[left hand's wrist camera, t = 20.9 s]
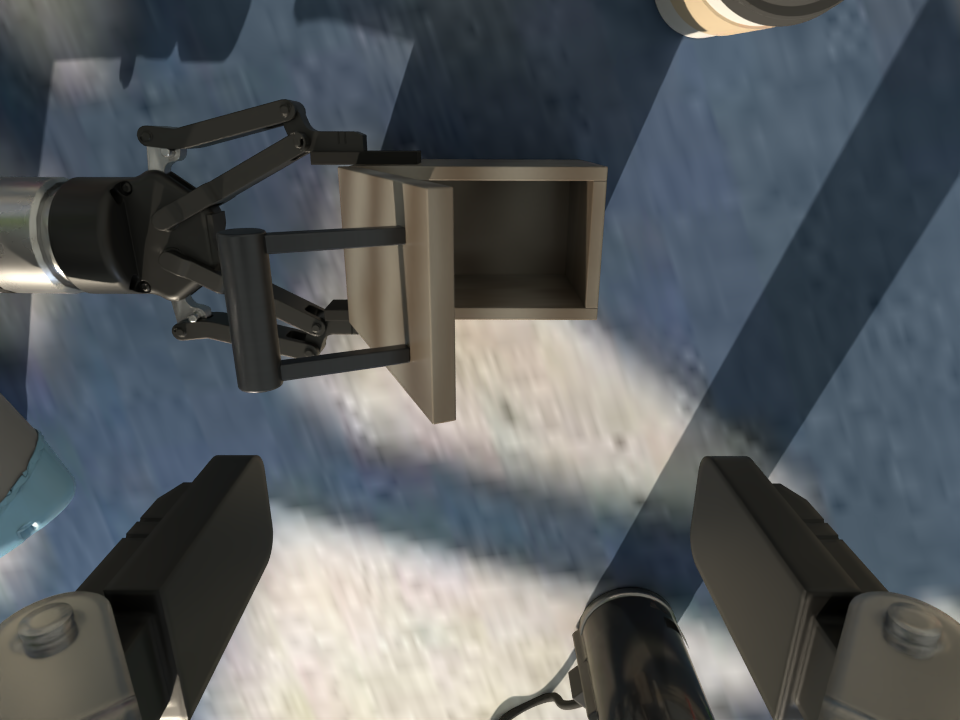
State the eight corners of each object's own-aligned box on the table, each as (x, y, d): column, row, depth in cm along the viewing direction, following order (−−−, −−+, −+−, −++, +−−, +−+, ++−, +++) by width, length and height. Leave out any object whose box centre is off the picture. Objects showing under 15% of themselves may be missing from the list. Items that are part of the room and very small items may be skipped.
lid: (453, 186, 22) (211, 194, 19) (456, 420, 25) (249, 459, 22) (355, 166, 35) (204, 168, 32) (365, 321, 38) (228, 336, 35)
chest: (580, 159, 45) (608, 166, 36) (573, 282, 49) (596, 320, 39) (377, 158, 45) (348, 165, 36) (383, 281, 49) (359, 319, 39)
